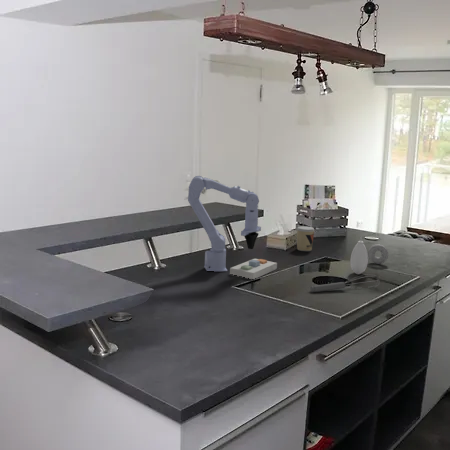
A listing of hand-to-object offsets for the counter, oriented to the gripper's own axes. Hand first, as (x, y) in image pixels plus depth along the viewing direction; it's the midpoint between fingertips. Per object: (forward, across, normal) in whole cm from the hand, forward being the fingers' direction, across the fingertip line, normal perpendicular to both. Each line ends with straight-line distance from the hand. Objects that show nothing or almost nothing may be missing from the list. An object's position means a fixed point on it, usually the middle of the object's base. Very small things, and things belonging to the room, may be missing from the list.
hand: (250, 248), depth 247 cm
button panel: (+10, 0, -2) cm, 11 cm away
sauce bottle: (+12, +29, -41) cm, 51 cm away
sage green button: (+9, -7, -2) cm, 12 cm away
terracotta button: (+10, +7, -2) cm, 12 cm away
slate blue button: (+8, 0, -2) cm, 9 cm away
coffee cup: (+11, +56, -2) cm, 57 cm away
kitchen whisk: (+12, +1, -45) cm, 47 cm away
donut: (+12, +53, -42) cm, 69 cm away
